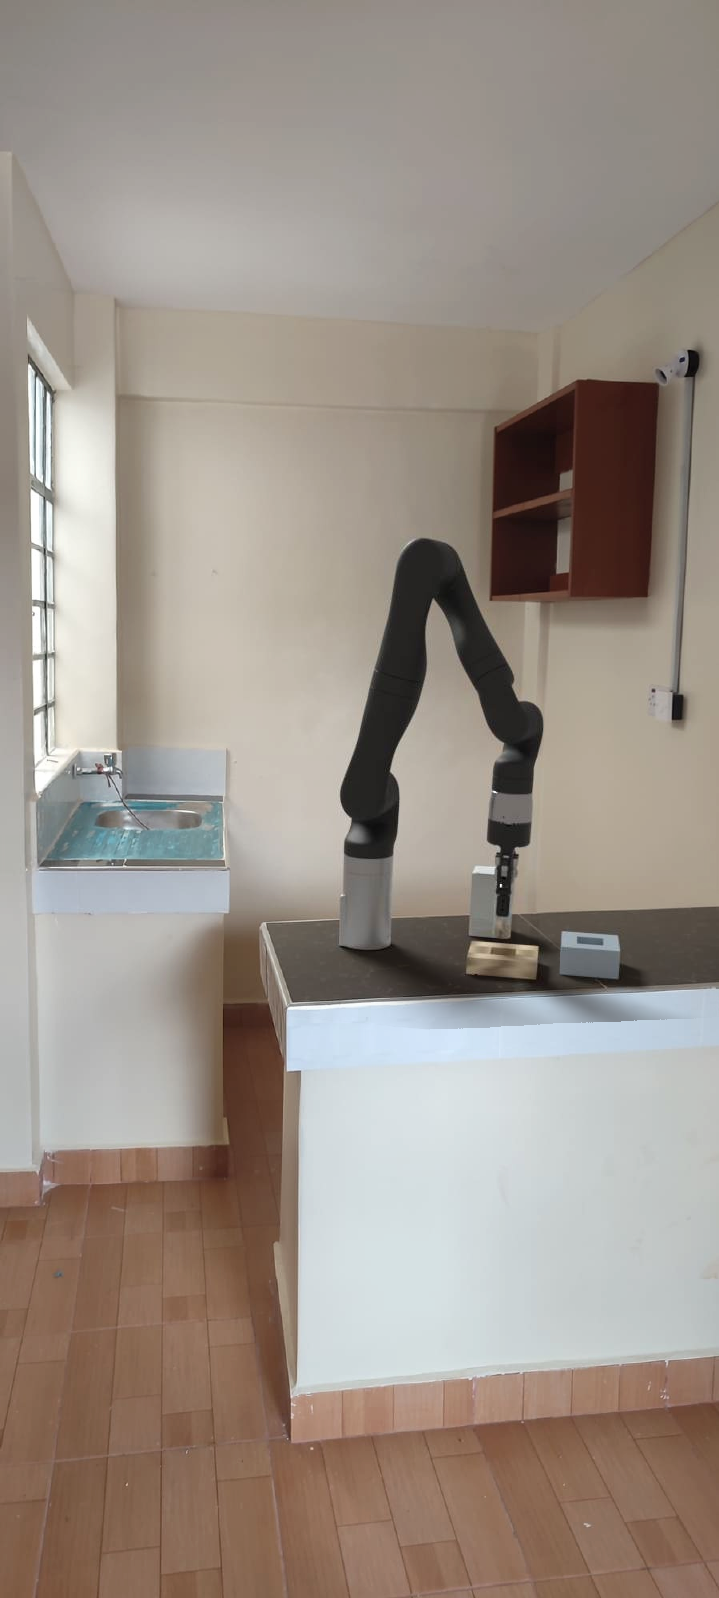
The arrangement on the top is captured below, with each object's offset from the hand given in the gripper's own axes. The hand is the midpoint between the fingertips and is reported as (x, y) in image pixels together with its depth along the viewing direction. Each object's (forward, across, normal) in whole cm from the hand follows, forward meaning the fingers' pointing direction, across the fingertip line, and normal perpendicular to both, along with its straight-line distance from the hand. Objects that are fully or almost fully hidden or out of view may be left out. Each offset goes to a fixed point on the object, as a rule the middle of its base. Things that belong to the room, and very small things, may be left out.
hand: (503, 912), depth 199 cm
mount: (+10, 0, +1) cm, 10 cm away
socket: (+10, -4, +16) cm, 19 cm away
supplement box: (+10, -22, -4) cm, 25 cm away
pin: (+4, 0, 0) cm, 4 cm away
